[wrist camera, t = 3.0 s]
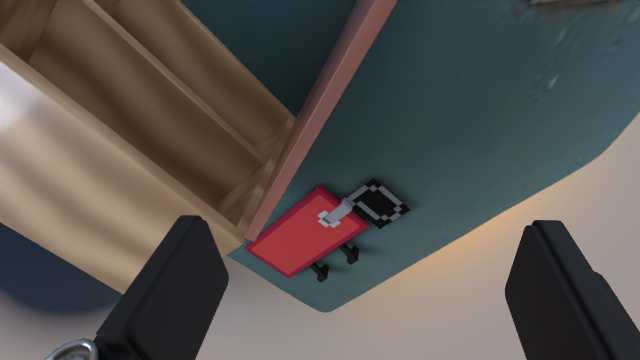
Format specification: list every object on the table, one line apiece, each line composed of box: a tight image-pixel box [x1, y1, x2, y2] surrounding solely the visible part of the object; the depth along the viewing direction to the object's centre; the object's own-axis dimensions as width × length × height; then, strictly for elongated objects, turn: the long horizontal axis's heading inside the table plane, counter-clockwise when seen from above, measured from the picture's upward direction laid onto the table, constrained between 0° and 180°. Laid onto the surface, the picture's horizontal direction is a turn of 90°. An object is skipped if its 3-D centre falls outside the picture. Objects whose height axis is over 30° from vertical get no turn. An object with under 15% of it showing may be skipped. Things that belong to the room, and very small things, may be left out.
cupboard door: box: [244, 0, 398, 242], centre depth 31 cm, size 6×26×24 cm, turn 153°
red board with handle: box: [245, 178, 410, 282], centre depth 60 cm, size 30×3×15 cm
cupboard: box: [0, 0, 296, 294], centre depth 38 cm, size 18×26×24 cm
